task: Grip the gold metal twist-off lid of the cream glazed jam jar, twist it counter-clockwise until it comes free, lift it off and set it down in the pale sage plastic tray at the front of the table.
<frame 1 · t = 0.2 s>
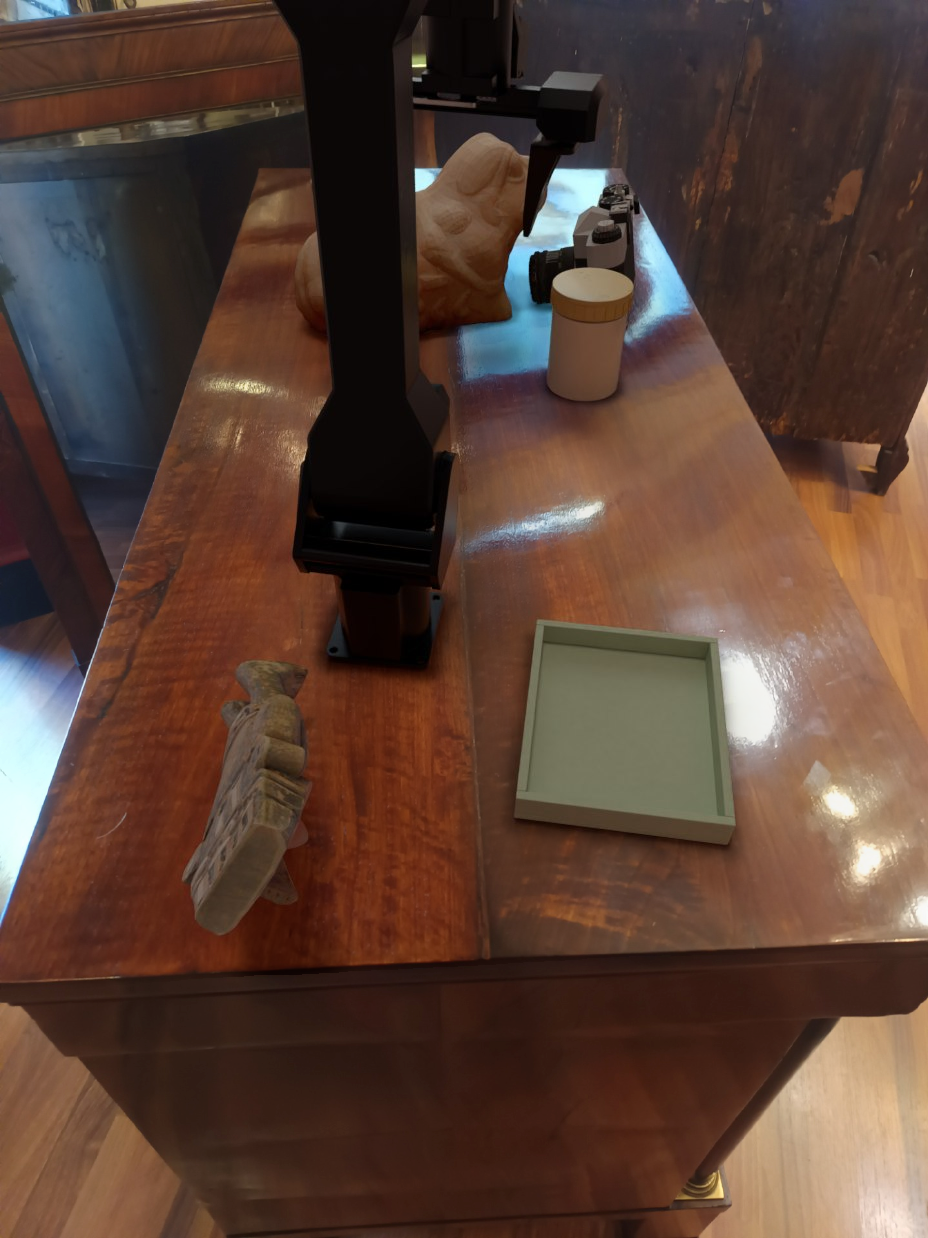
hand: (468, 228, 62), 14 cm above the dresser, tool pointing down, fingers open, 9 cm apart
figurine: (218, 753, 35), point 9 cm above the dresser
lid: (592, 288, 68), point 9 cm above the dresser, screwed on, not yet turned
tray: (620, 731, 47), on the dresser
jar: (581, 383, 75), on the dresser
camera: (579, 302, 87), on the dresser
ceramic vessel: (423, 309, 85), on the dresser
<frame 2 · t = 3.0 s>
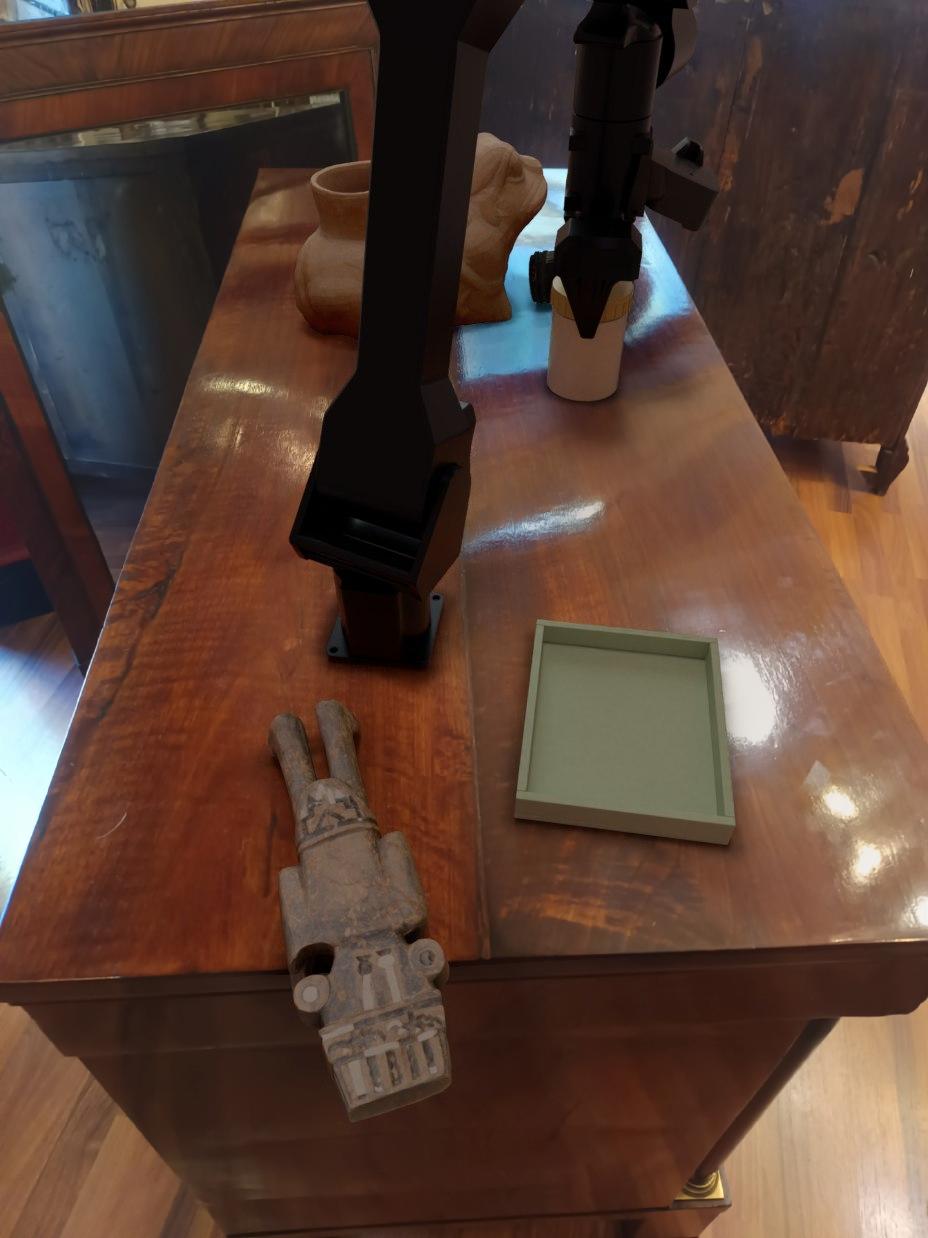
hand: (588, 319, 70), 6 cm above the dresser, tool pointing down, fingers closed on lid, 6 cm apart
figurine: (340, 860, 37), point 4 cm above the dresser
lid: (592, 288, 68), point 9 cm above the dresser, screwed on, not yet turned, touching gripper
everything else where it was.
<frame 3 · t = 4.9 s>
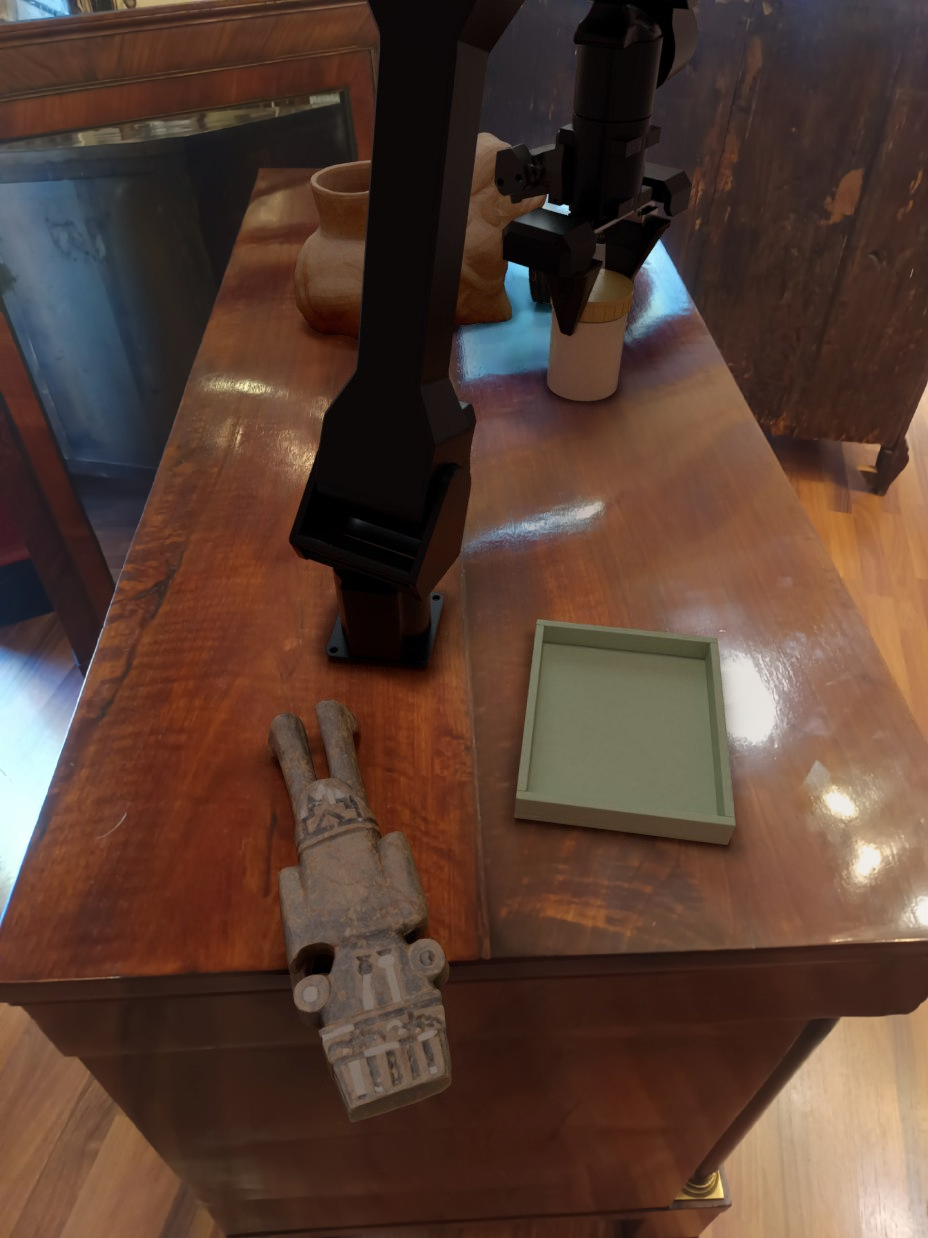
hand: (589, 319, 70), 6 cm above the dresser, tool pointing down, fingers closed on lid, 6 cm apart
lid: (592, 288, 68), point 9 cm above the dresser, off its thread, touching gripper
everything else where it was.
when the fingers open (1 cm above the dresser, at t = 20.1 s): lid drops 2 cm, resting on tray.
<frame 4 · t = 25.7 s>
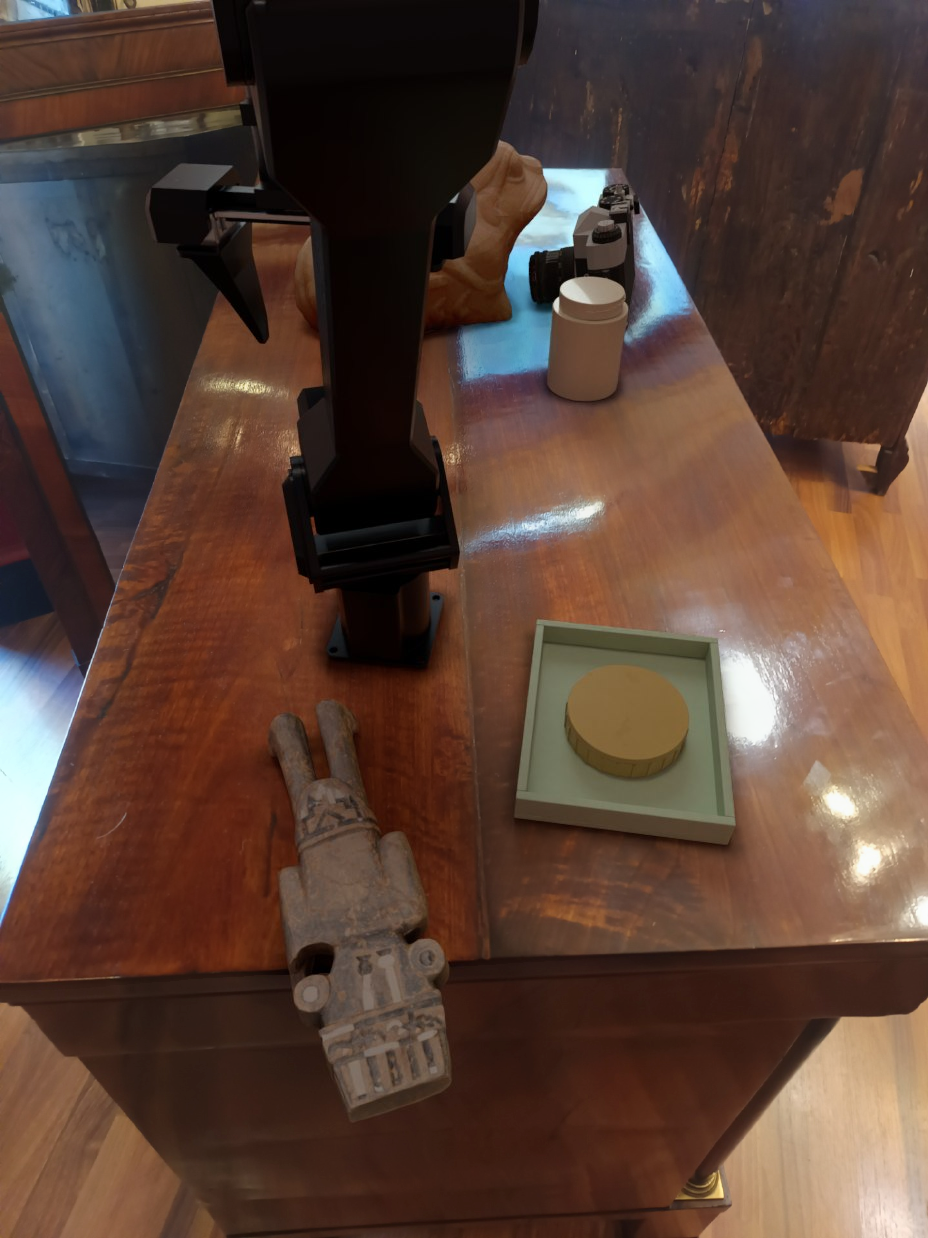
hand: (331, 345, 55), 12 cm above the dresser, tool pointing down, fingers open, 9 cm apart
lid: (627, 714, 46), point 2 cm above the dresser, off its thread, touching tray
everything else where it was.
at the end: lid came off its thread; lid inside the target area in the tray (0.1 cm from its centre), point 1.7 cm above the tray's base; the gripper is holding nothing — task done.
